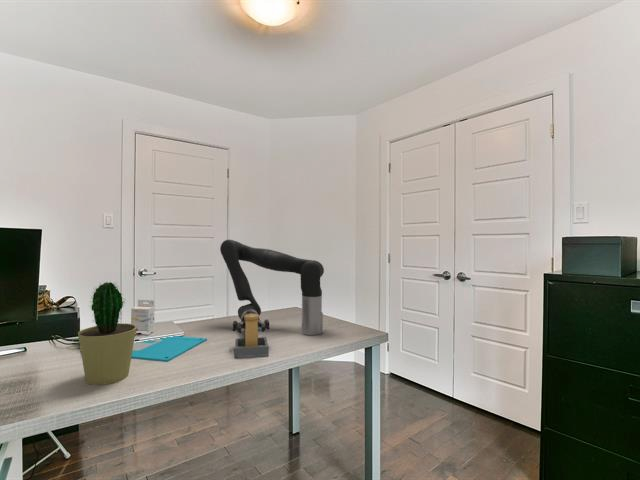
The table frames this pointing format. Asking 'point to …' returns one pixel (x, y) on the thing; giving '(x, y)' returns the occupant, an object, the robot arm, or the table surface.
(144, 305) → the ink cartridge box
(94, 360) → the potted cactus
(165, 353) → the teal flat board
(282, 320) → the table surface
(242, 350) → the housing
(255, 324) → the tan capped post
